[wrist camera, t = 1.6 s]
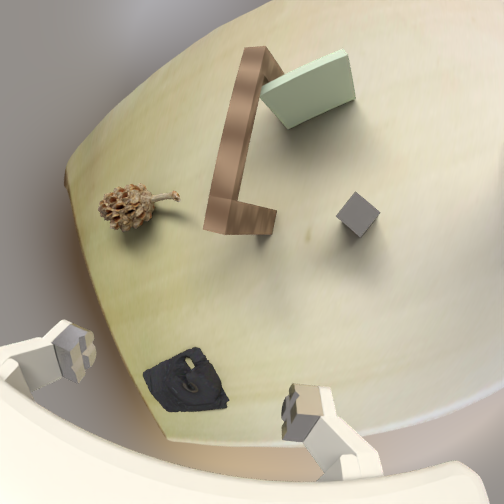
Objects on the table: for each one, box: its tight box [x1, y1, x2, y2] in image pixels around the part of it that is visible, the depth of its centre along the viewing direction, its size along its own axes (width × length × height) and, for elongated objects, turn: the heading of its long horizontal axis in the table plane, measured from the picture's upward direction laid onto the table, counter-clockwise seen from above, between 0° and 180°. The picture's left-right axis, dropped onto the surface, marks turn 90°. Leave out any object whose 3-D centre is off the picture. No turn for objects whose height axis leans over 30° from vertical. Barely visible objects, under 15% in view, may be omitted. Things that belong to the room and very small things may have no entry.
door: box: [260, 49, 356, 129], centre depth 35 cm, size 13×3×13 cm, turn 111°
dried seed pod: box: [98, 183, 180, 232], centre depth 51 cm, size 22×10×10 cm, turn 99°
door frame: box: [203, 46, 285, 235], centre depth 37 cm, size 25×3×16 cm, turn 166°
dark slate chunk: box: [143, 347, 229, 412], centre depth 55 cm, size 15×22×5 cm
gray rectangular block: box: [336, 191, 380, 237], centre depth 36 cm, size 4×4×9 cm
